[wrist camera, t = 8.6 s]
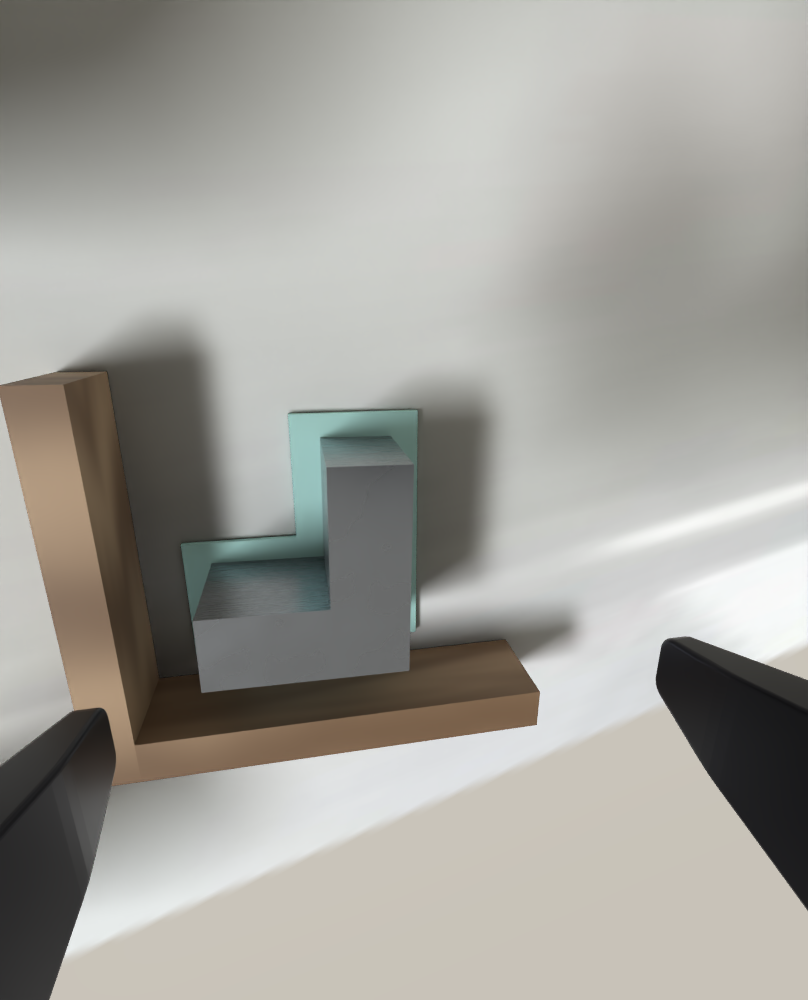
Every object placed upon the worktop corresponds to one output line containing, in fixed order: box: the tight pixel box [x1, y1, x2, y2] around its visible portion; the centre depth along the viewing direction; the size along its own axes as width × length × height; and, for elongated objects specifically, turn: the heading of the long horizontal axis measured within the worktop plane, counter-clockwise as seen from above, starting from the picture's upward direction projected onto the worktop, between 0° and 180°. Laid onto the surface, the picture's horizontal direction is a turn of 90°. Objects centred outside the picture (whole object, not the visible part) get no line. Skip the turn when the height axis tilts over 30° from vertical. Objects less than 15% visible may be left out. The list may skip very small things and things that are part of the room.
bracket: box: [193, 436, 414, 693], centre depth 18 cm, size 7×6×4 cm
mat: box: [181, 410, 418, 655], centre depth 20 cm, size 9×8×1 cm
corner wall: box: [0, 372, 540, 786], centre depth 19 cm, size 13×16×4 cm
